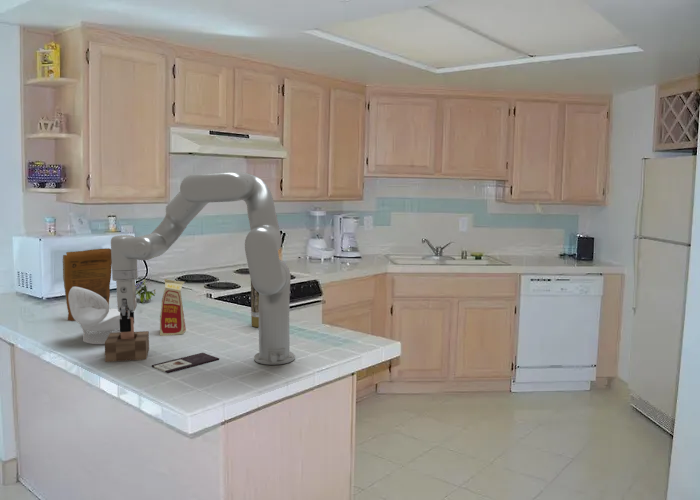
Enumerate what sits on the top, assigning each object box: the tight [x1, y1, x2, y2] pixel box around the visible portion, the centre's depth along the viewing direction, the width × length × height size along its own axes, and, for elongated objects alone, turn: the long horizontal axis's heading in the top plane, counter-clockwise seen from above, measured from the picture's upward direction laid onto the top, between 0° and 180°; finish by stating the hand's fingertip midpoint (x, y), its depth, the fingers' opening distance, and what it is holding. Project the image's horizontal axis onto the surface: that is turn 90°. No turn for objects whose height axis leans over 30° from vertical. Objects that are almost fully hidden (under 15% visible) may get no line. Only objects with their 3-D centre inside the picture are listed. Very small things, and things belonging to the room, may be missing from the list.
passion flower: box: [135, 278, 156, 304], centre depth 278 cm, size 11×11×12 cm
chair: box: [68, 287, 121, 345], centre depth 211 cm, size 20×20×20 cm
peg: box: [121, 317, 135, 339], centre depth 194 cm, size 4×4×12 cm
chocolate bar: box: [151, 352, 220, 374], centre depth 187 cm, size 9×1×18 cm
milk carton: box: [159, 278, 187, 337], centre depth 223 cm, size 9×9×20 cm
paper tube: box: [250, 281, 259, 328], centre depth 232 cm, size 7×7×25 cm
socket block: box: [104, 330, 150, 363], centre depth 194 cm, size 12×12×6 cm
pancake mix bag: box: [62, 247, 112, 322], centre depth 242 cm, size 7×19×28 cm, turn 125°
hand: (127, 327), depth 194 cm, fingers open, 9 cm apart
